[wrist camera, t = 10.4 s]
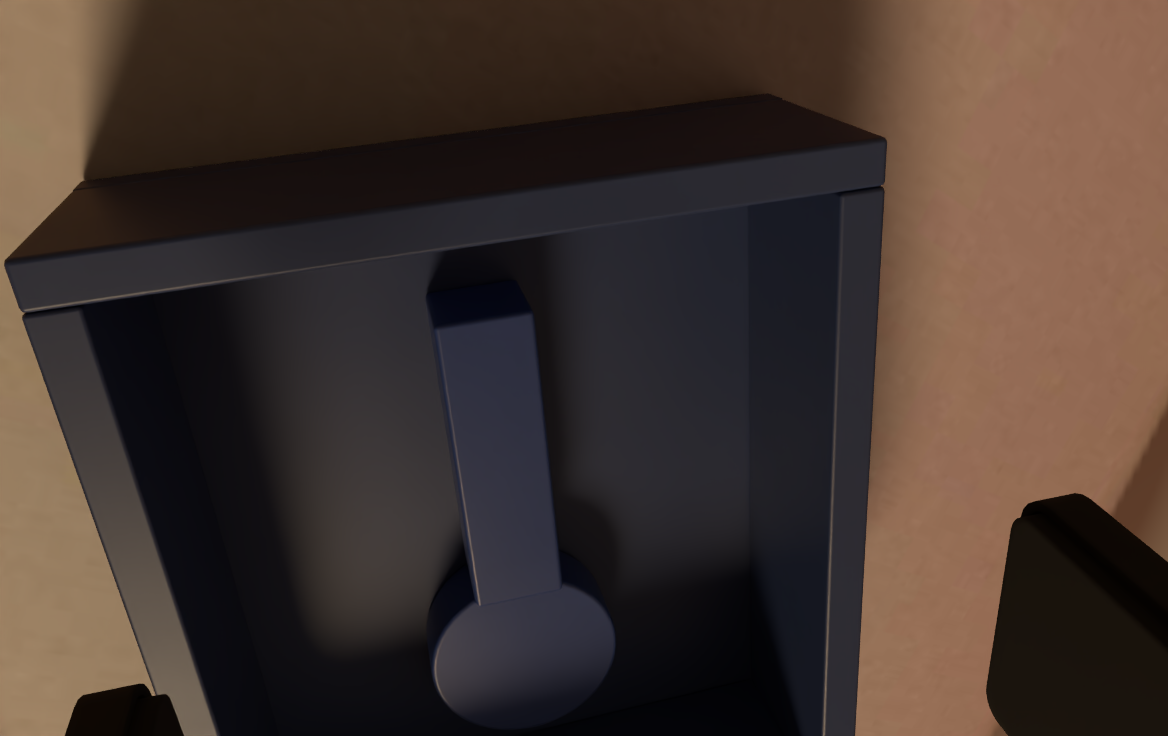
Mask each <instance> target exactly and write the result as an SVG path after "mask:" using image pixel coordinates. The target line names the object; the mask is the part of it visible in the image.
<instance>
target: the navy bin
mask: <svg viewBox="0 0 1168 736" xmlns="http://www.w3.org/2000/svg"><path fill="white" fill-rule="evenodd" d="M886 151H887V141H886V139H885V138H884V137H881V136H879V135H876V134H873V133H871V132H868V131H865V130H863V129H860V128H857V127H855V126H852V125H849V124H847V123H844V122H841V121H839V120H836V119H833V118H831V117H828V116H825V115H823V114H820V113H818V112H815V111H812V110H810V109H807V108H804V107H802V106H799V105H796V104H794V103H791V102H788V101H786V100H783V99H782V98H779V97H777V96H774V95H771V94H761V95H753V96H745V97H737V98H730V99H722V100H714V101H706V102H698V103H690V104H683V105H675V106H667V107H659V108H651V109H643V110H636V111H628V112H620V113H612V114H604V115H596V116H589V117H581V118H573V119H565V120H557V121H549V122H542V123H534V124H526V125H518V126H510V127H502V128H495V129H487V130H479V131H471V132H463V133H455V134H448V135H440V136H432V137H424V138H416V139H408V140H401V141H393V142H385V143H377V144H369V145H361V146H353V147H346V148H338V149H330V150H322V151H314V152H306V153H299V154H291V155H283V156H275V157H267V158H259V159H252V160H244V161H236V162H228V163H220V164H212V165H205V166H197V167H189V168H181V169H173V170H165V171H158V172H150V173H142V174H134V175H126V176H118V177H111V178H103V179H95V180H87V181H82V182H81V183H80V184H79V185H78V186H77V187H76V188H75V189H74V190H73V192H72V193H71V194H70V195H69V196H68V197H67V198H66V199H65V200H64V201H63V202H62V203H61V204H60V205H59V206H58V207H57V208H56V209H55V210H54V211H53V212H52V213H51V214H50V215H49V216H48V217H47V218H46V219H45V220H44V221H43V222H42V223H41V224H40V225H39V226H38V227H37V228H36V229H35V230H34V231H33V232H32V233H31V234H30V235H29V236H28V237H27V239H26V240H25V241H24V242H23V243H22V244H21V245H20V246H19V247H18V248H17V249H16V250H15V251H14V252H13V253H12V254H11V255H10V256H9V257H8V258H7V259H6V260H5V263H4V266H5V269H6V272H7V275H8V278H9V280H10V283H11V286H12V289H13V292H14V294H15V297H16V300H17V303H18V306H19V308H20V310H21V311H22V312H25V313H24V315H23V317H22V320H23V322H24V325H25V328H26V331H27V334H28V336H29V339H30V342H31V345H32V348H33V351H34V353H35V356H36V359H37V362H38V365H39V367H40V370H41V373H42V376H43V379H44V382H45V384H46V387H47V390H48V393H49V396H50V398H51V401H52V404H53V407H54V410H55V413H56V415H57V418H58V421H59V424H60V427H61V429H62V432H63V435H64V438H65V441H66V444H67V446H68V449H69V452H70V455H71V458H72V460H73V463H74V466H75V469H76V472H77V475H78V477H79V480H80V483H81V486H82V489H83V491H84V494H85V497H86V500H87V503H88V506H89V508H90V511H91V514H92V517H93V520H94V522H95V525H96V528H97V531H98V534H99V536H100V539H101V542H102V545H103V548H104V551H105V553H106V556H107V559H108V562H109V565H110V567H111V570H112V573H113V576H114V579H115V582H116V584H117V587H118V590H119V593H120V596H121V598H122V601H123V604H124V607H125V610H126V613H127V615H128V618H129V621H130V624H131V627H132V629H133V632H134V635H135V638H136V641H137V644H138V646H139V649H140V652H141V655H142V658H143V660H144V663H145V666H146V669H147V672H148V675H149V677H150V680H151V683H152V686H153V689H154V691H155V694H156V695H161V694H167V695H168V696H169V697H170V699H171V702H172V704H173V707H174V709H175V712H176V715H177V718H178V720H179V723H180V726H181V729H182V731H183V734H184V736H855V725H856V707H857V688H858V670H859V652H860V633H861V615H862V596H863V578H864V560H865V541H866V523H867V504H868V486H869V468H870V449H871V431H872V412H873V394H874V376H875V357H876V339H877V320H878V302H879V283H880V265H881V247H882V228H883V210H884V188H883V187H881V185H883V184H884V182H885V169H886ZM511 280H514V281H517V283H518V284H519V286H520V288H521V290H522V292H523V294H524V296H525V298H526V299H527V301H528V303H529V305H530V307H531V309H532V311H533V313H534V318H535V328H536V337H537V347H538V356H539V366H540V375H541V385H542V394H543V403H544V413H545V422H546V432H547V441H548V451H549V460H550V469H551V479H552V488H553V498H554V507H555V517H556V526H557V536H558V545H559V551H561V552H563V553H565V554H567V555H569V556H571V557H573V558H574V559H576V560H577V561H579V562H580V563H582V564H583V565H584V566H585V567H586V568H587V569H588V570H589V571H590V573H591V574H592V575H593V576H594V578H595V580H596V582H597V584H598V585H599V588H600V590H601V593H602V595H603V598H604V600H605V602H606V605H607V607H608V610H609V612H610V615H611V617H612V620H613V623H614V626H615V632H616V648H615V655H614V659H613V662H612V665H611V667H610V670H609V672H608V674H607V676H606V677H605V679H604V681H603V682H602V684H601V685H600V686H599V688H598V689H597V690H596V691H595V692H594V693H593V694H592V695H591V696H590V697H589V698H588V699H587V700H586V701H585V702H584V703H583V704H581V705H580V706H579V707H578V708H576V709H574V710H573V711H571V712H570V713H568V714H566V715H564V716H563V717H561V718H559V719H556V720H554V721H551V722H549V723H546V724H543V725H539V726H536V727H531V728H525V729H516V730H500V729H492V728H487V727H483V726H479V725H476V724H474V723H471V722H469V721H467V720H465V719H463V718H462V717H460V716H459V715H457V714H456V713H455V712H453V711H452V710H451V709H450V708H449V707H448V706H447V705H446V704H445V703H444V701H443V700H442V699H441V697H440V696H439V694H438V692H437V690H436V688H435V686H434V682H433V678H432V673H431V666H430V658H429V651H428V644H427V634H426V628H427V619H428V615H429V611H430V609H431V606H432V603H433V601H434V599H435V598H436V596H437V594H438V592H439V591H440V589H441V588H442V587H443V585H444V584H445V583H446V582H447V581H448V580H449V579H450V577H451V576H452V575H453V574H455V573H456V572H457V571H458V570H459V569H461V568H462V567H463V566H465V565H466V564H467V561H466V556H465V549H464V543H463V537H462V530H461V524H460V517H459V511H458V505H457V498H456V492H455V486H454V479H453V473H452V466H451V460H450V454H449V447H448V441H447V434H446V428H445V422H444V415H443V409H442V403H441V396H440V390H439V383H438V377H437V371H436V364H435V358H434V351H433V345H432V339H431V332H430V326H429V319H428V313H427V307H426V300H425V298H426V295H427V294H429V293H433V292H439V291H446V290H452V289H459V288H466V287H472V286H479V285H485V284H492V283H498V282H505V281H511Z"/></svg>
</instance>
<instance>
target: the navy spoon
mask: <svg viewBox="0 0 1168 736" xmlns="http://www.w3.org/2000/svg"><path fill="white" fill-rule="evenodd" d="M425 300H426V307H427V313H428V319H429V326H430V332H431V339H432V345H433V351H434V358H435V364H436V371H437V377H438V383H439V390H440V396H441V403H442V409H443V415H444V422H445V428H446V434H447V441H448V447H449V454H450V460H451V466H452V473H453V479H454V486H455V492H456V498H457V505H458V511H459V517H460V524H461V530H462V537H463V543H464V549H465V556H466V561H467V564H466V565H465V566H463V567H462V568H461V569H459V570H458V571H457V572H456V573H455V574H453V575H452V576H451V577H450V579H449V580H448V581H447V582H446V583H445V584H444V585H443V587H442V588H441V589H440V591H439V592H438V594H437V596H436V598H435V599H434V601H433V603H432V606H431V609H430V611H429V615H428V619H427V628H426V634H427V644H428V651H429V658H430V666H431V673H432V678H433V682H434V686H435V688H436V690H437V692H438V694H439V696H440V697H441V699H442V700H443V701H444V703H445V704H446V705H447V706H448V707H449V708H450V709H451V710H452V711H453V712H455V713H456V714H457V715H459V716H460V717H462V718H463V719H465V720H467V721H469V722H471V723H474V724H476V725H479V726H483V727H487V728H492V729H500V730H516V729H525V728H531V727H536V726H539V725H543V724H546V723H549V722H551V721H554V720H556V719H559V718H561V717H563V716H564V715H566V714H568V713H570V712H571V711H573V710H574V709H576V708H578V707H579V706H580V705H581V704H583V703H584V702H585V701H586V700H587V699H588V698H589V697H590V696H591V695H592V694H593V693H594V692H595V691H596V690H597V689H598V688H599V686H600V685H601V684H602V682H603V681H604V679H605V677H606V676H607V674H608V672H609V670H610V667H611V665H612V662H613V659H614V655H615V648H616V632H615V626H614V623H613V620H612V617H611V615H610V612H609V610H608V607H607V605H606V602H605V600H604V598H603V595H602V593H601V590H600V588H599V585H598V584H597V582H596V580H595V578H594V576H593V575H592V574H591V573H590V571H589V570H588V569H587V568H586V567H585V566H584V565H583V564H582V563H580V562H579V561H577V560H576V559H574V558H573V557H571V556H569V555H567V554H565V553H563V552H561V551H559V545H558V536H557V526H556V517H555V507H554V498H553V488H552V479H551V469H550V460H549V451H548V441H547V432H546V422H545V413H544V403H543V394H542V385H541V375H540V366H539V356H538V347H537V337H536V328H535V318H534V313H533V311H532V309H531V307H530V305H529V303H528V301H527V299H526V298H525V296H524V294H523V292H522V290H521V288H520V286H519V284H518V283H517V281H514V280H511V281H505V282H498V283H492V284H485V285H479V286H472V287H466V288H459V289H452V290H446V291H439V292H433V293H429V294H427V295H426V298H425Z"/></svg>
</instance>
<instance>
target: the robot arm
mask: <svg viewBox="0 0 1168 736" xmlns="http://www.w3.org/2000/svg"><path fill="white" fill-rule="evenodd" d="M986 694H987V700H988V703H989V707H990V709H991V711H992V714H993V716H994V717H995V719H996V720H997V722H998V723H999V725H1000V726H1001V727H1002V728H1003V729H1004V731H1005V732H1006V734H1007V735H1008V736H1168V562H1167V561H1166V560H1164V559H1163V558H1162V557H1161V556H1160V555H1158V554H1157V553H1156V552H1155V551H1153V550H1152V549H1151V548H1150V547H1149V546H1147V545H1146V544H1145V543H1144V542H1142V541H1141V540H1140V539H1139V538H1138V537H1136V536H1135V535H1134V534H1133V533H1131V532H1130V531H1129V530H1128V529H1126V528H1125V527H1124V526H1123V525H1122V524H1120V523H1119V522H1118V521H1117V520H1115V519H1114V518H1113V517H1112V516H1111V515H1109V514H1108V513H1107V512H1106V511H1104V510H1103V509H1102V508H1101V507H1100V506H1098V505H1097V504H1096V503H1095V502H1093V501H1092V500H1091V499H1089V498H1088V497H1086V496H1084V495H1083V494H1076V493H1074V494H1069V495H1064V496H1059V497H1054V498H1049V499H1044V500H1040V501H1035V502H1032V503H1029V504H1027V505H1026V507H1025V508H1024V509H1023V512H1022V515H1021V517H1020V518H1017V519H1016V520H1015V521H1014V522H1013V524H1012V528H1011V533H1010V539H1009V546H1008V552H1007V558H1006V565H1005V571H1004V578H1003V584H1002V590H1001V597H1000V603H999V610H998V616H997V622H996V629H995V635H994V642H993V648H992V654H991V661H990V667H989V674H988V680H987V687H986ZM65 736H184V734H183V731H182V729H181V726H180V723H179V720H178V718H177V715H176V712H175V709H174V707H173V704H172V702H171V699H170V697H169V696H168V695H167V694H161V695H156V696H152V695H151V693H150V691H149V689H148V688H147V687H146V686H145V685H144V684H136V685H131V686H126V687H121V688H116V689H111V690H106V691H101V692H96V693H92V694H87V695H83V696H82V697H80V698H79V699H78V701H77V703H76V705H75V707H74V710H73V713H72V716H71V719H70V722H69V725H68V728H67V731H66V734H65Z"/></svg>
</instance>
